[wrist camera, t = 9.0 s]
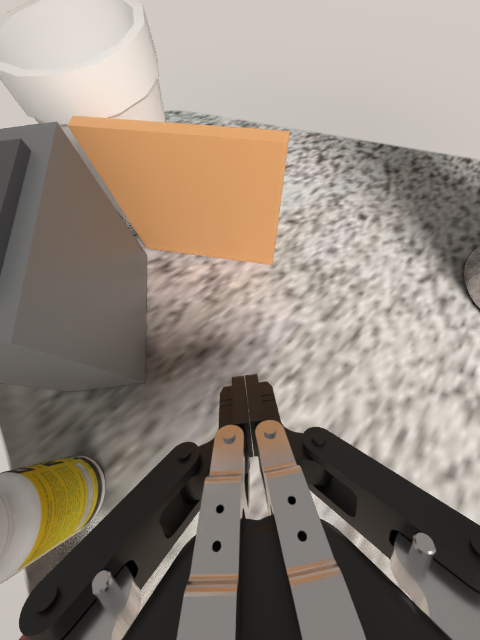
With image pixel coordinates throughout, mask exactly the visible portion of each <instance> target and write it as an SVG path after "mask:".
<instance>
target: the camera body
mask: <svg viewBox="0 0 480 640" xmlns="http://www.w3.org/2000/svg"><path fill="white" fill-rule="evenodd" d="M146 307H147V255H146V253H145V252H144V250H143V249H142V247H141V246H140V244H139V243H138V241H137V240H136V239H135V237H134V236H133V234H132V233H131V231H130V230H129V228H128V227H127V225H126V224H125V222H124V221H123V219H122V218H121V216H120V215H119V213H118V212H117V210H116V209H115V207H114V206H113V204H112V203H111V201H110V200H109V198H108V197H107V195H106V194H105V192H104V191H103V189H102V188H101V186H100V185H99V183H98V182H97V180H96V179H95V178H94V176H93V175H92V173H91V172H90V170H89V169H88V167H87V166H86V164H85V163H84V161H83V160H82V158H81V157H80V155H79V154H78V152H77V151H76V149H75V148H74V146H73V145H72V143H71V142H70V140H69V139H68V137H67V136H66V134H65V133H64V131H63V130H62V128H61V127H60V125H59V124H58V122H49V123H41V124H34V125H26V126H20V127H12V128H4V129H0V383H3V384H11V385H19V386H27V387H36V388H44V389H52V390H60V391H68V392H74V391H82V390H90V389H98V388H106V387H114V386H121V385H129V384H137V383H145V380H146Z"/></svg>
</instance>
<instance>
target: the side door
mask: <svg viewBox="0 0 480 640" xmlns="http://www.w3.org/2000/svg"><path fill="white" fill-rule="evenodd" d="M68 127H69V129H70V130H71V132H72V133H73V135H74V136H75V138H76V139H77V141H78V143H79V144H80V146H81V147H82V149H83V150H84V152H85V153H86V155H87V157H88V158H89V160H90V161H91V163H92V164H93V166H94V167H95V169H96V170H97V172H98V174H99V175H100V177H101V178H102V180H103V181H104V183H105V184H106V186H107V188H108V189H109V191H110V192H111V194H112V195H113V197H114V198H115V200H116V202H117V203H118V205H119V206H120V208H121V209H122V211H123V212H124V214H125V215H126V217H127V219H128V220H129V222H130V223H131V225H132V226H133V228H134V229H135V231H136V233H137V234H138V236H139V237H140V239H141V240H142V242H143V243H144V245H145V247H146V248H147V249H155V250H163V251H170V252H178V253H186V254H193V255H201V256H209V257H216V258H224V259H232V260H239V261H247V262H255V263H262V264H270V265H272V264H273V258H274V250H275V243H276V235H277V227H278V219H279V211H280V203H281V196H282V188H283V180H284V172H285V164H286V156H287V148H288V141H289V133H290V131H280V130H266V129H252V128H238V127H224V126H210V125H196V124H183V123H169V122H155V121H141V120H127V119H113V118H99V117H85V116H73V117H72V118H71V120H70V122H69V123H68Z"/></svg>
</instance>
